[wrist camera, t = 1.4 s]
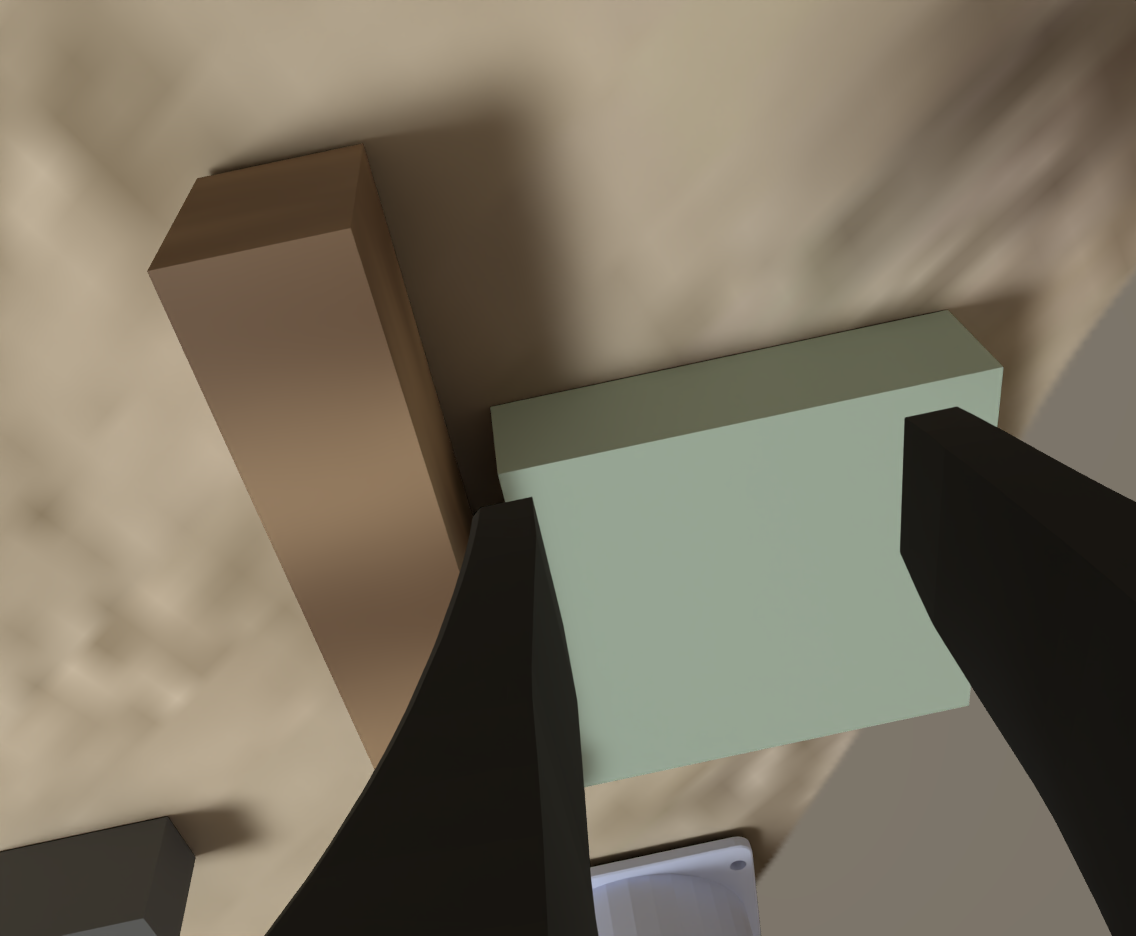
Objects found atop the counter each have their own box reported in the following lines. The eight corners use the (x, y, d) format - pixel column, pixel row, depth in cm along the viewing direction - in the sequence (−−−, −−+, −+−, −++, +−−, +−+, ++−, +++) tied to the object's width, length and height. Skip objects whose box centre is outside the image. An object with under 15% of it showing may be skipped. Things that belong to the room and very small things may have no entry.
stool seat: (927, 635, 27) (968, 705, 25) (568, 711, 27) (581, 787, 25) (947, 309, 21) (1003, 366, 19) (490, 406, 21) (497, 474, 19)
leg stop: (195, 857, 29) (174, 958, 26) (26, 893, 29) (-11, 998, 26) (167, 816, 28) (143, 918, 25) (-9, 854, 28) (-51, 959, 25)
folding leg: (541, 738, 27) (558, 877, 24) (426, 762, 27) (428, 904, 24) (368, 142, 18) (357, 231, 14) (192, 179, 18) (136, 278, 14)
